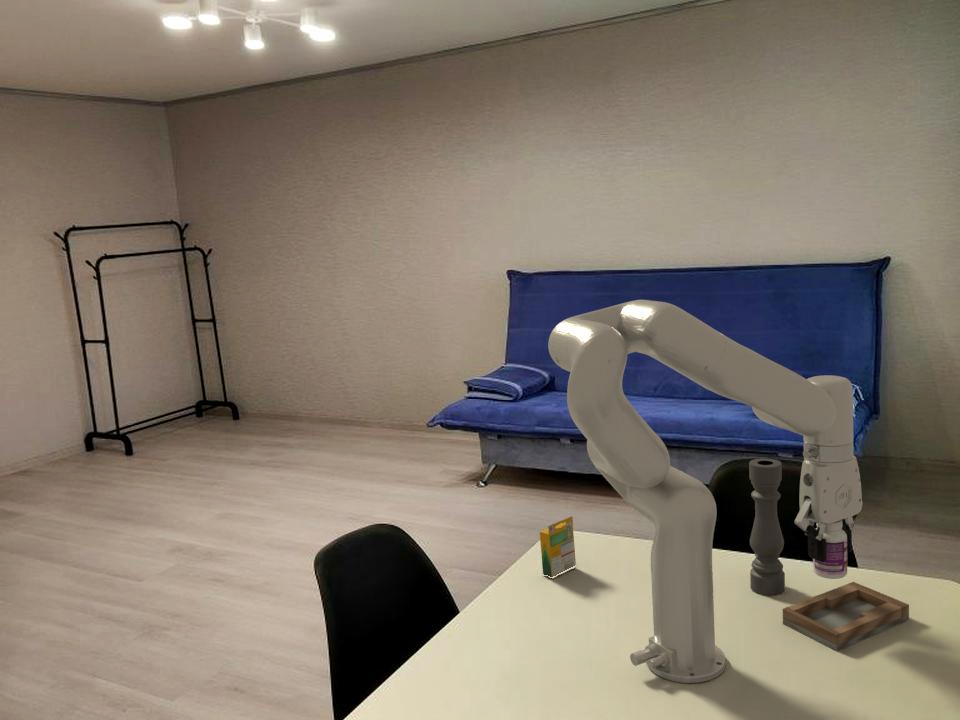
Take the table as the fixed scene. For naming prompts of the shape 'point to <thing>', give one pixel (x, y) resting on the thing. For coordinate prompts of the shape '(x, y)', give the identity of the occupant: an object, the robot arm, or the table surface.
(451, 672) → the table surface
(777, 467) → the candle holder
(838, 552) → the pill bottle
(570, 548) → the crayon box
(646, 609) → the table surface
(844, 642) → the brown wooden tray
